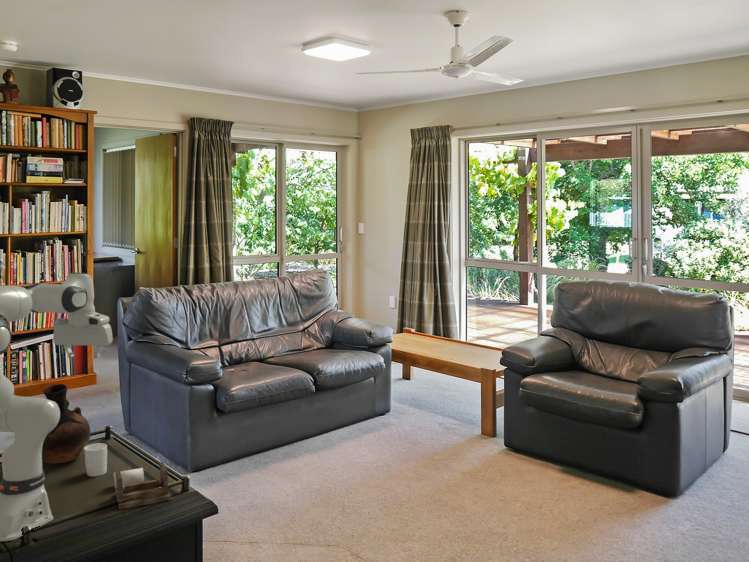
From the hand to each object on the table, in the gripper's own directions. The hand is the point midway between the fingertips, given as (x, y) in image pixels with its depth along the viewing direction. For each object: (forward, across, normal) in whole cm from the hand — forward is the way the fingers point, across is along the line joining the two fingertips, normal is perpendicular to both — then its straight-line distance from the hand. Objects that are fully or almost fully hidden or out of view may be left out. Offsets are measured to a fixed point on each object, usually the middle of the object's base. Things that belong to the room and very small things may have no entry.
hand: (83, 357), depth 240 cm
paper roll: (+45, +16, -3) cm, 48 cm away
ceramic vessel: (+45, -20, +17) cm, 52 cm away
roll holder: (+45, +25, -12) cm, 53 cm away
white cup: (+45, -1, +7) cm, 45 cm away
